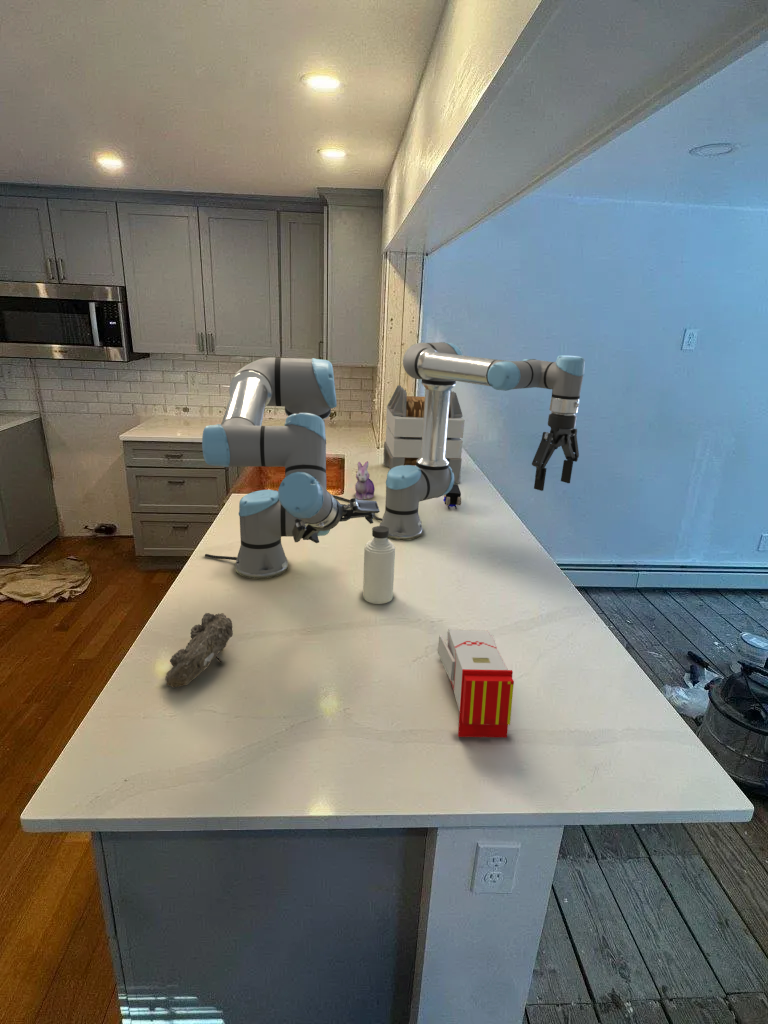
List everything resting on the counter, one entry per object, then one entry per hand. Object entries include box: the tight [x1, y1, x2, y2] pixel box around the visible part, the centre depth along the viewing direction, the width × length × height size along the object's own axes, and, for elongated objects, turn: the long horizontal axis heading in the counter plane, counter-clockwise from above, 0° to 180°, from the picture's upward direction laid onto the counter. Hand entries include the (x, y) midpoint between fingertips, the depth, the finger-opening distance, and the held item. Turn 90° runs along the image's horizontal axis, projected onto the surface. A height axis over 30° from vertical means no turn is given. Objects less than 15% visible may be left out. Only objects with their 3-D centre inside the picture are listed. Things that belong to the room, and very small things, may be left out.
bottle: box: [362, 537, 396, 605], centre depth 153 cm, size 8×8×20 cm
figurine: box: [354, 460, 376, 500], centre depth 234 cm, size 9×10×15 cm
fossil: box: [165, 612, 234, 688], centre depth 123 cm, size 22×10×15 cm
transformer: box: [383, 384, 465, 484], centre depth 268 cm, size 34×33×41 cm
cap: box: [371, 525, 389, 539], centre depth 150 cm, size 4×4×2 cm
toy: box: [437, 628, 515, 738], centre depth 117 cm, size 12×13×30 cm
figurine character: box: [442, 483, 462, 510], centre depth 230 cm, size 7×8×15 cm
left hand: (343, 527), depth 134 cm, fingers open, 13 cm apart
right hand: (552, 485), depth 166 cm, fingers open, 13 cm apart
